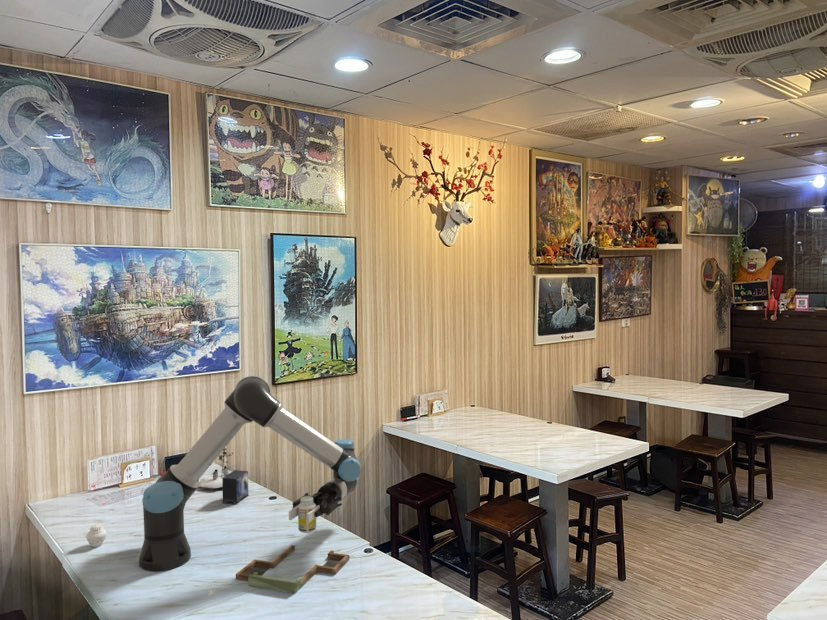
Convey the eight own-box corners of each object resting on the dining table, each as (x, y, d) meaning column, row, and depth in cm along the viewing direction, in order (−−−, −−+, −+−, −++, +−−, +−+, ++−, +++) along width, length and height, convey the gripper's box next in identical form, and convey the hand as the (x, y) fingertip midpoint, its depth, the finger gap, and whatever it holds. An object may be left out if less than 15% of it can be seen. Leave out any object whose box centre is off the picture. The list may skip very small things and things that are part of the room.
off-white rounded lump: (84, 550, 201) (83, 529, 201) (88, 542, 207) (88, 522, 207) (104, 547, 203) (104, 527, 202) (108, 540, 209) (108, 520, 208)
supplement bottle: (316, 526, 196) (316, 494, 196) (315, 533, 191) (315, 500, 190) (299, 526, 196) (298, 495, 195) (297, 534, 190) (297, 501, 190)
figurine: (218, 492, 253) (219, 452, 254) (188, 486, 262) (190, 447, 263) (253, 483, 270) (255, 446, 271) (224, 477, 279) (226, 441, 280)
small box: (237, 504, 241) (236, 478, 240) (221, 503, 242) (221, 477, 241) (249, 495, 251) (248, 470, 251) (234, 494, 252) (234, 469, 252)
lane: (275, 547, 201) (275, 538, 201) (351, 557, 192) (351, 548, 192) (230, 583, 177) (230, 573, 177) (314, 596, 169) (314, 586, 169)
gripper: (357, 506, 207) (326, 533, 185) (307, 500, 213) (272, 525, 191) (356, 484, 207) (326, 508, 185) (307, 479, 213) (272, 501, 191)
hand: (299, 517), depth 188 cm, fingers closed on supplement bottle, 6 cm apart
